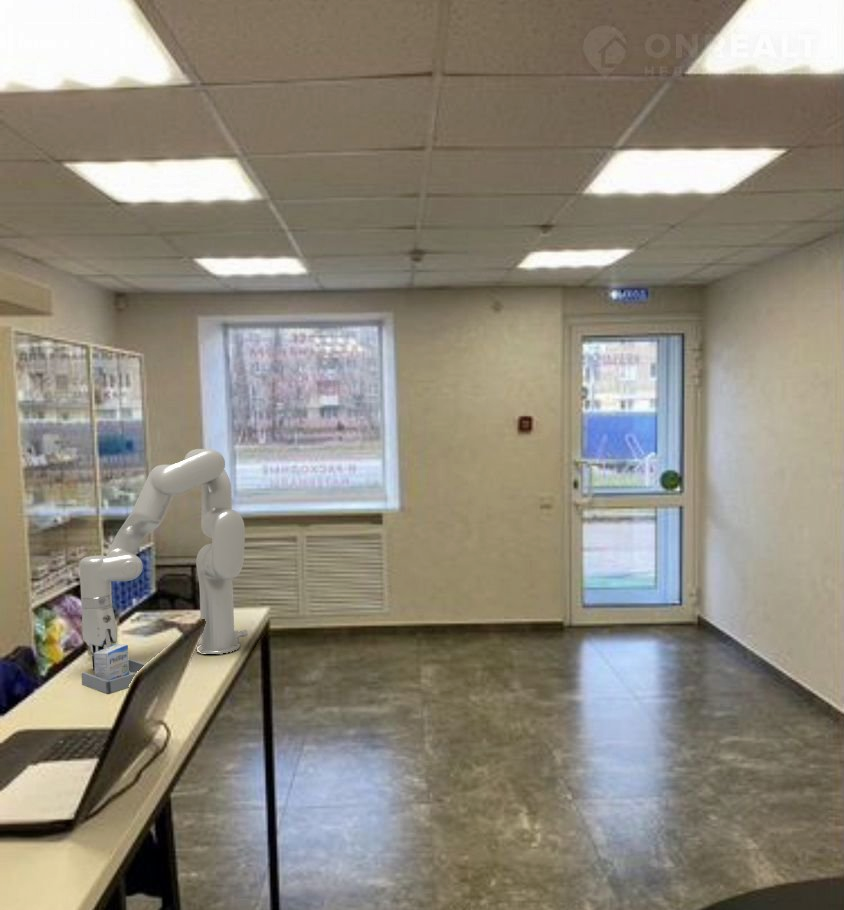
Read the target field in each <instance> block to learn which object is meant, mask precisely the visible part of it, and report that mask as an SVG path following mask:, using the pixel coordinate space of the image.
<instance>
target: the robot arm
mask: <svg viewBox="0 0 844 910" xmlns="http://www.w3.org/2000/svg"><path fill="white" fill-rule="evenodd" d="M225 468H226V460H225V457H224V456H223V454H222V453H220V452H219V451H218V450H215V449H212V448H211V449H210V448H196V449H192V450H190V451H189V452H187V453H186V455H185V456H184V458H183V460H181V461H178V462H176V463H173V464H172V463H171V464H159V465H156V466H155V467H153V469H152V470H151V471H150V472H149V474H148V476H147V478H146V481H145V482H144V485H143V487H142V489H141V491H140V493H139V495H138V497H137V500H136V502H135V505H134V507H133V508H132V510H131V512H130V514H129V515H128V516H127V518H126V519H125V521H124V523H123V524H122V525H121V527H120V528H119V530H118V531H117V533H116V535H114V536H115V537H114V538H113V540H112V542H111V545H110V547H109V550H108V551H107V554H106V555H90V556H86V557H83V558H82V559H80V561H79V581H80V599H81V602H80V603H81V611H82V612H81V613H82V615H81V616H82V617H81V634H82V640H83V641H84V643H86V645H87V646H88V647H89V649H90V653H91V654H90V655H91V659H92V660H91V661H92V664H91V665H92V670H93V671H95V666H94V653H95V652H98V651H100V650H103V649H105V648H107V647H110V646H112V644H115V643H117V642H118V641H117V640H118V637H117V636H118V635H117V624H116V618H115V613H114V608H113V596H112V595H113V594H112V582H129V581H132V580H135V579H137V578H138V577H140V575H141V573H142V571H143V569H144V567H143V566H144V565H143V562H142V560H141V558H140V557H139V556H137V552H138V550H139V549H140V547H141V545H142V543H143V541H144V540H145V539H146V537H147V536H149V534H151V533H152V532H154V530H156V529H157V528H158V527H160V525H162V523H163V520H164V518H165V516H166V514H167V512H168V509H169V507H170V505H171V503H172V500H173V499H174V496H177V495H180V494H184V493H186V492H189V491H192V490H193V489H196V488H198V487H199V486H200V488H201V516H200V517H201V519H200V521H201V522H200V526H201V531H202V533H203V535H205V536H206V537H207V538H210V539H212V540H211V542H212V543H207V544H206V545H203V547H201V548H200V550H199V551H198V553H197V555H196V558H195V559H196V560H195V562H196V563H195V564H196V572H197V578H198V583H199V584H198V585H199V604H200V605H199V609H200V610H199V611H200V612H199V613H200V620H201V619H205V621H206V624H205V627H204V631H203V633H202V636H201V635H200V637H201V640H200V641H201V643H200V644H199V645H201V646H200V647H199V648H198V650H199V651H200V652H201V653H206V654H220V655H224V654H223V653H226V654H229V653H228V652H230V653H233V652H235V651H234V650H236V651H237V649H238V648H239V647H240V648H241V642H240V641H238V640H240V638H245V637H247V636H248V631H247V630H246V629H244V630H240V631H239V630H235V615H234V614H235V613H234V608H235V607H234V587H233V585H234V584H233V579H235V578H236V577H238V575H240V573H241V571H242V568H243V566H244V560H245V543H246V542H245V539H246V538H245V537H246V533H245V532H246V529H245V528H246V527H245V522H244V520H243V519H244V518H243V517H242V516H241V515H240V513H239V512H237V511H236V510H235V509H233V507H232V506H233V504H232V503H233V501H232V500H233V499H232V497H233V496H232V493H233V492H232V484H231V481H230V477H229V475H228V473H227V471H226V470H225ZM240 648H239V649H240ZM239 649H238V650H239ZM232 651H233V652H232Z"/></svg>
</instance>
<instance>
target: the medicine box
mask: <svg viewBox="0 0 844 910" xmlns="http://www.w3.org/2000/svg"><path fill="white" fill-rule="evenodd" d="M93 656H94V666H95V670H94V676H97V677H100V678H103V679H105V680H108V681H109V680H113V679H116V678H119V677H123V676H126V675H129V674H130V671H129V659H130V658H129V645H128V644H125V643H124V644H123V643H117V644H115V643H114V644H113V645H112V644H111V646H110V647H107V648H105V649H103V650H100V651H98V652H95V653H94V655H93Z"/></svg>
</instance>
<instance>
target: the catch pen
mask: <svg viewBox="0 0 844 910" xmlns="http://www.w3.org/2000/svg"><path fill="white" fill-rule="evenodd" d="M145 664H146V663H144V662H141V661H138V660H134V659H131V658H129V672H131V673H129V675H126V676H123V677H119V678H116V679H113V680H109V681H108V680H105V679H103V678H100V677H97V676H95V674H92V673H88V672H85V671H83V672H81V684H82V685H83V686H86V687H88V688H91V689H94V690H95V691H97V692H98V691H99V692H101V693H104V694H106V695H110V694H112V693H116V692H120V691H122V690H125V689H128V686H129V684H130V683H131V681H132V679H133V677H134V676H135V674H136V673H137V671H139V670H140V669H141V668H142V667H143V666H144V665H145Z"/></svg>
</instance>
